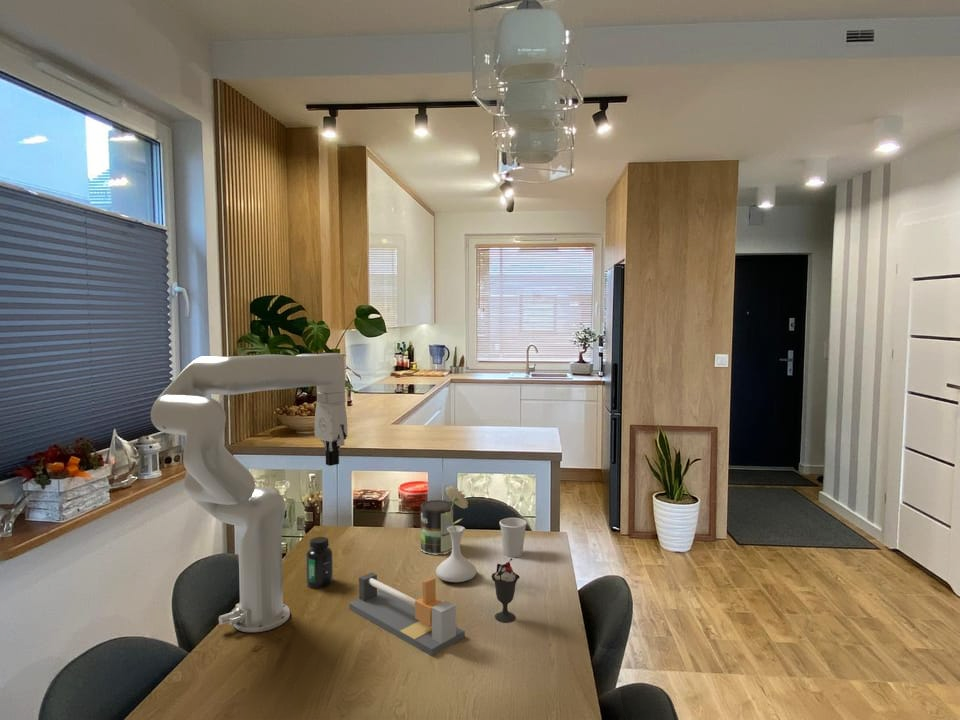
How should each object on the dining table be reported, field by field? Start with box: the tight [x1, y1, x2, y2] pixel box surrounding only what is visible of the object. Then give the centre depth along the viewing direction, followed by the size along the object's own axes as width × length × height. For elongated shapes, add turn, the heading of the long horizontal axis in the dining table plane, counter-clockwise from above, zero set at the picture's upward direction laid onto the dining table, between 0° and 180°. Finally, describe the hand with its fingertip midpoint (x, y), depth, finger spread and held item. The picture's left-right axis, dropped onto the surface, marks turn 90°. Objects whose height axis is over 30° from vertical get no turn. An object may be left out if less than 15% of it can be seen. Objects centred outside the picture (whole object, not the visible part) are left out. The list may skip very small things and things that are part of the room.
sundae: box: [491, 557, 520, 623], centre depth 138 cm, size 7×7×15 cm
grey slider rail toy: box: [348, 572, 466, 657], centre depth 136 cm, size 30×10×8 cm, turn 47°
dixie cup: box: [499, 517, 528, 559], centre depth 176 cm, size 8×8×10 cm
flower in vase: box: [435, 485, 478, 583], centre depth 160 cm, size 13×11×25 cm
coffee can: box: [419, 499, 454, 555], centre depth 180 cm, size 10×10×14 cm
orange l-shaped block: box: [415, 576, 443, 626], centre depth 129 cm, size 5×4×9 cm
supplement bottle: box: [305, 536, 334, 589], centre depth 156 cm, size 7×7×12 cm
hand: (332, 464), depth 159 cm, fingers closed
